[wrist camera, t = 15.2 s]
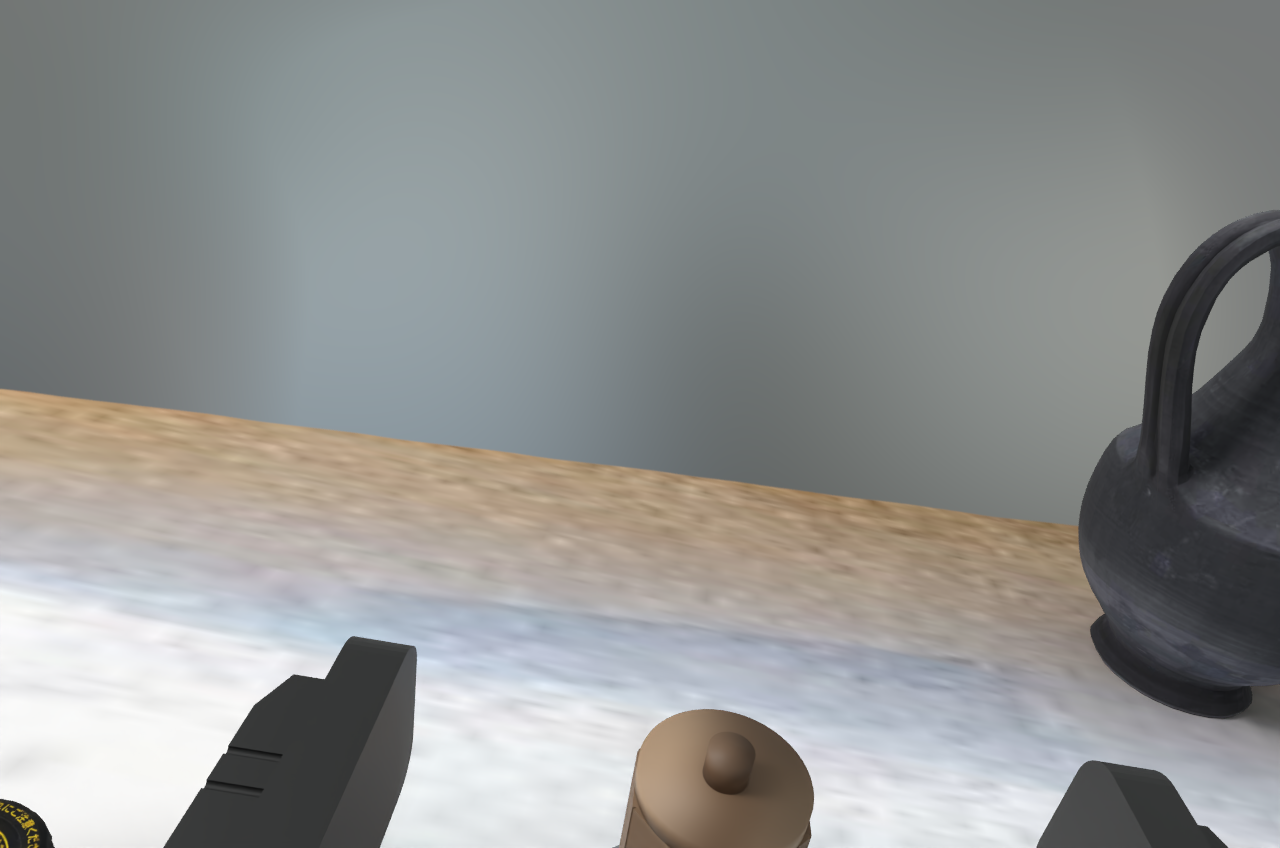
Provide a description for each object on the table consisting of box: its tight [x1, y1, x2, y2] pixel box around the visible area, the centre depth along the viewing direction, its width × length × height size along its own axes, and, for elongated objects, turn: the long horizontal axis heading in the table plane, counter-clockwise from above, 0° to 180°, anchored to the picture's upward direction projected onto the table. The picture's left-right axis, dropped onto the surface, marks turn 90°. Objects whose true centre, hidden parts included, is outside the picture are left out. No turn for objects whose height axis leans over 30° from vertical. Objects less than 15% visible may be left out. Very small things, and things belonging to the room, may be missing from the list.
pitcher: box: [1079, 210, 1280, 718], centre depth 50 cm, size 17×21×30 cm
